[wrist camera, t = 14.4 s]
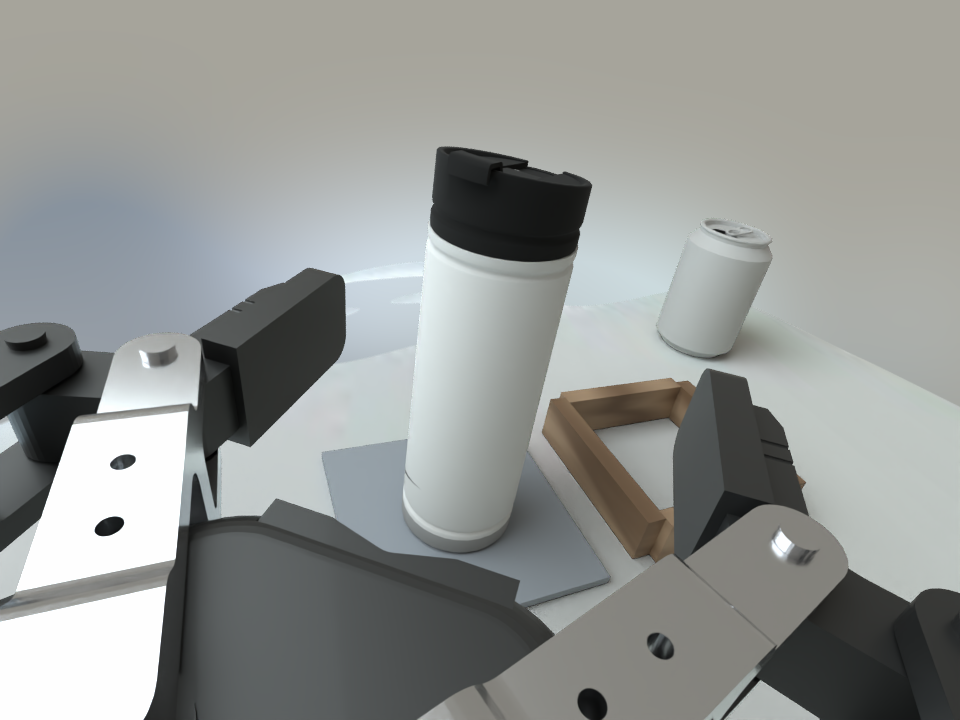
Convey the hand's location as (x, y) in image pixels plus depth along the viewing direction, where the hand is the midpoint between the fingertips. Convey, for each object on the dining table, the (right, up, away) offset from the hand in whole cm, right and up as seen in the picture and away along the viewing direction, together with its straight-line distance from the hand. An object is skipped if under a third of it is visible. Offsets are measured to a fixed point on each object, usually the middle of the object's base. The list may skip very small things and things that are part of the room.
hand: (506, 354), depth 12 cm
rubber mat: (-2, -9, +20) cm, 22 cm away
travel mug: (-2, -9, +19) cm, 22 cm away
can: (+21, +2, +43) cm, 48 cm away
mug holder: (+12, -8, +26) cm, 29 cm away
